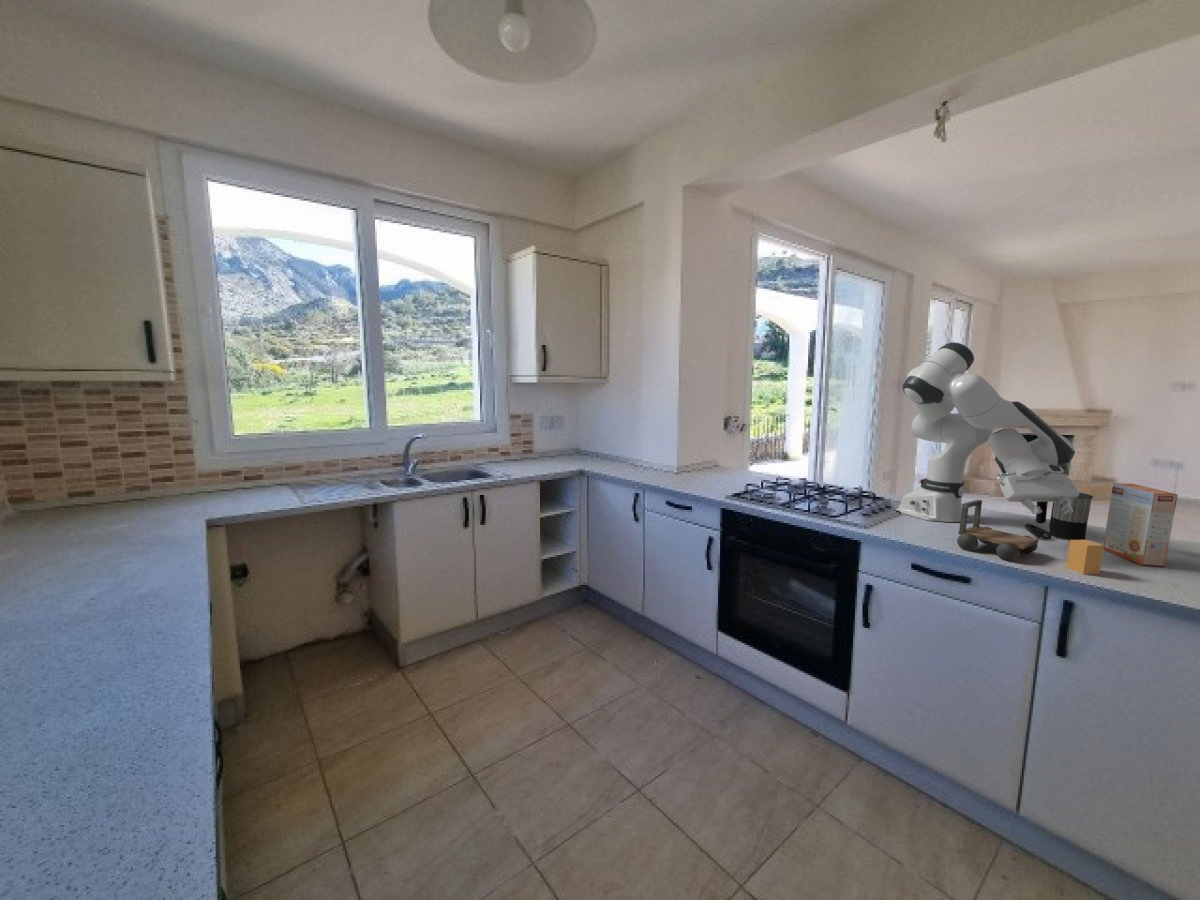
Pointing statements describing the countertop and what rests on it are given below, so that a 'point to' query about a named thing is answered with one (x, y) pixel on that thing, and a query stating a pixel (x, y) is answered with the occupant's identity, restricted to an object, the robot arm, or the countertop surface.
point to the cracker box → (1140, 523)
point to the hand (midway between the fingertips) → (1053, 513)
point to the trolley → (992, 536)
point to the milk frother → (1064, 520)
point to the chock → (1085, 556)
